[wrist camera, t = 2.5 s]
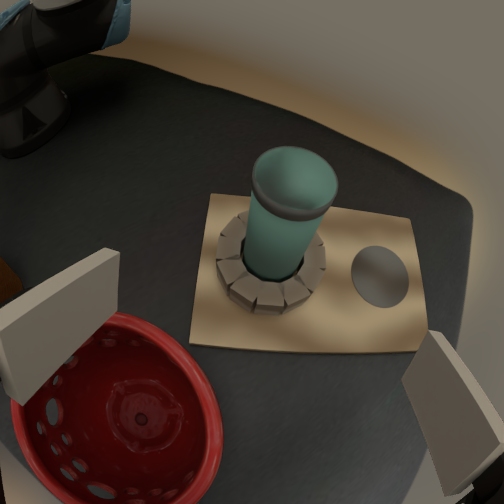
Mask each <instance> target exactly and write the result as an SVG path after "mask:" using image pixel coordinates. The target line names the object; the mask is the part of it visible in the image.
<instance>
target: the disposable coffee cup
mask: <svg viewBox="0 0 504 504" xmlns="http://www.w3.org/2000/svg"><path fill="white" fill-rule="evenodd" d="M21 290H23V286H22V282H21V280H20V278H19V277H18V276H17V275H16V274H15V273H14V272H13V270H12V269H11V268H10V267H9V266H8V265H7V264H6V262H5V261H4V260H3V259H2V258H1V257H0V303H3V301H4V300H6V299H8V298H11V296H13V295H14V294H16V293H18V292H19V291H21Z"/></svg>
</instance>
